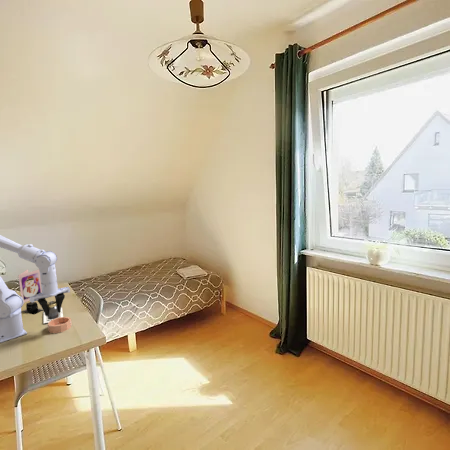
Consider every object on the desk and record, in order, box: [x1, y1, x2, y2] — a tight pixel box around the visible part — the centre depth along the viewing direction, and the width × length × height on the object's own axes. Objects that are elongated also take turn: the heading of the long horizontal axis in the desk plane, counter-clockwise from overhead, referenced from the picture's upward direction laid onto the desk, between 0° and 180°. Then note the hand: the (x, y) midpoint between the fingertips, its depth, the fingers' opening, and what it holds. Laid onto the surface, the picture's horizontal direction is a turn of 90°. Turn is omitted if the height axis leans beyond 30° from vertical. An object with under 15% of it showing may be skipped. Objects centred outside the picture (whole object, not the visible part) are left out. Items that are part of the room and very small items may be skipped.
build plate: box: [21, 301, 44, 315], centre depth 153 cm, size 12×7×5 cm, turn 67°
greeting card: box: [18, 269, 42, 303], centre depth 168 cm, size 11×7×15 cm, turn 155°
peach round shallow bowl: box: [47, 316, 73, 334], centre depth 135 cm, size 9×9×3 cm
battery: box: [47, 300, 59, 319], centre depth 129 cm, size 4×4×7 cm
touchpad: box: [43, 306, 64, 324], centre depth 147 cm, size 8×15×2 cm, turn 29°
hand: (52, 313), depth 130 cm, fingers closed on battery, 4 cm apart
